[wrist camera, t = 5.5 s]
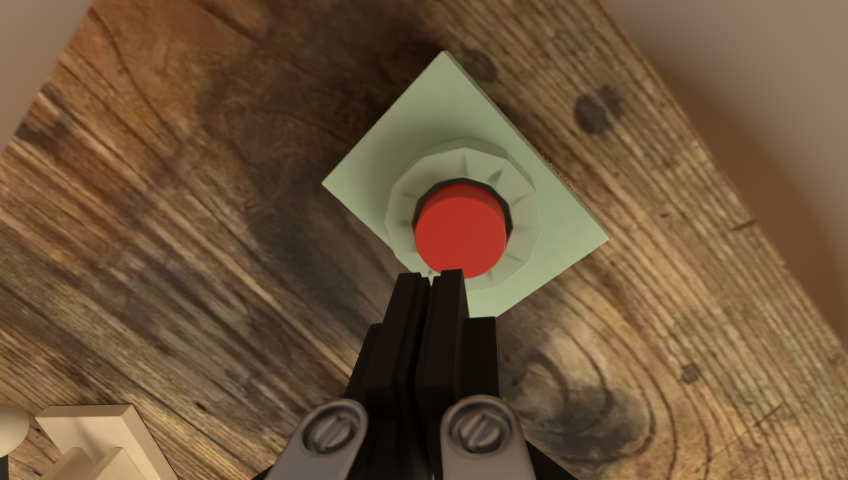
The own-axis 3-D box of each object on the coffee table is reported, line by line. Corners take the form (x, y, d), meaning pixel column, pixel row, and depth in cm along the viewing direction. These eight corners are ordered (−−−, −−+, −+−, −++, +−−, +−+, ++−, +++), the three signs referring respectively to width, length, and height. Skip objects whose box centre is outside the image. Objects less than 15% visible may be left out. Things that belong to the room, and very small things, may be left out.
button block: (335, 170, 21) (305, 196, 18) (446, 49, 18) (437, 50, 14) (479, 306, 24) (478, 352, 20) (598, 220, 20) (623, 257, 17)
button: (403, 219, 18) (395, 236, 16) (464, 164, 16) (462, 177, 15) (460, 273, 19) (457, 294, 17) (522, 225, 17) (526, 243, 16)
